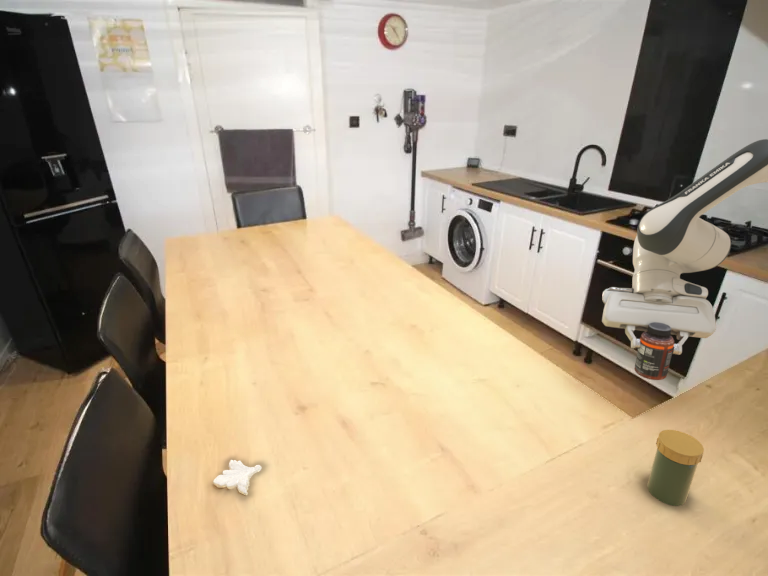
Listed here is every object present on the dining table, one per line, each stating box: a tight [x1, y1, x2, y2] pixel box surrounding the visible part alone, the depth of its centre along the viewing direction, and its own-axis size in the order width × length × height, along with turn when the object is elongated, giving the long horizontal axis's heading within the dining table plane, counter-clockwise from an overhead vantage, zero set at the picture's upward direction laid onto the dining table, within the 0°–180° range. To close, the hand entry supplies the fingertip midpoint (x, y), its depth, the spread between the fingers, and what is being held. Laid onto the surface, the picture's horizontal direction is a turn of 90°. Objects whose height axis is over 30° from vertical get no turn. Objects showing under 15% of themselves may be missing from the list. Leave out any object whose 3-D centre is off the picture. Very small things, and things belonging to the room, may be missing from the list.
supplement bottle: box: [634, 322, 675, 381], centre depth 85 cm, size 6×6×11 cm
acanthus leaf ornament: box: [212, 459, 263, 496], centre depth 75 cm, size 8×7×2 cm
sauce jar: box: [646, 447, 699, 507], centre depth 68 cm, size 6×6×11 cm
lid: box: [655, 429, 705, 465], centre depth 67 cm, size 6×6×2 cm
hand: (656, 350), depth 85 cm, fingers closed on supplement bottle, 6 cm apart
